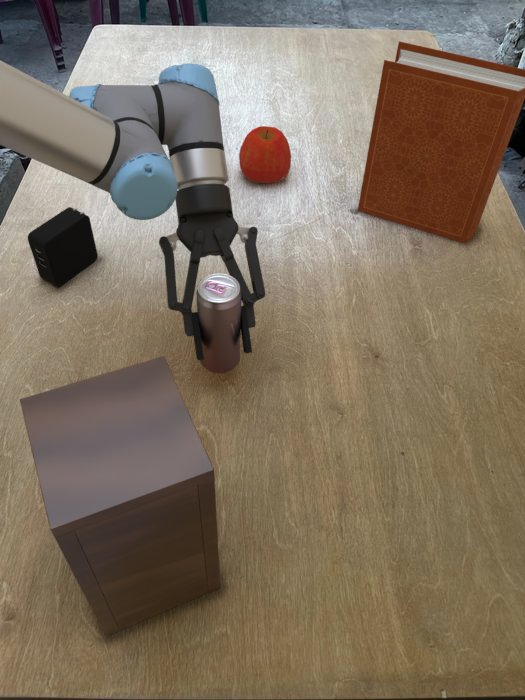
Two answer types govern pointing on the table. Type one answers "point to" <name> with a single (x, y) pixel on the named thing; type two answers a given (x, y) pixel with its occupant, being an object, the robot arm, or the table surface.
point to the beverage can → (219, 322)
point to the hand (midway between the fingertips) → (224, 355)
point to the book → (439, 139)
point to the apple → (265, 155)
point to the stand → (127, 491)
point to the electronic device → (63, 246)
